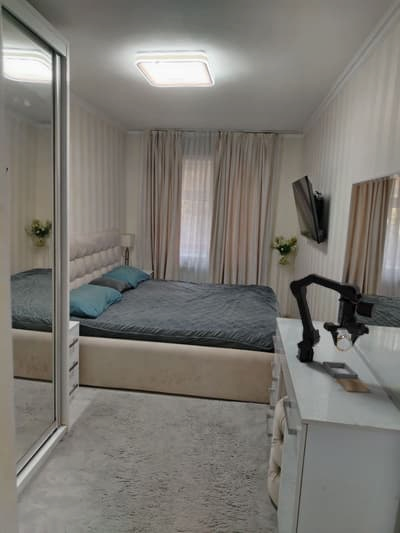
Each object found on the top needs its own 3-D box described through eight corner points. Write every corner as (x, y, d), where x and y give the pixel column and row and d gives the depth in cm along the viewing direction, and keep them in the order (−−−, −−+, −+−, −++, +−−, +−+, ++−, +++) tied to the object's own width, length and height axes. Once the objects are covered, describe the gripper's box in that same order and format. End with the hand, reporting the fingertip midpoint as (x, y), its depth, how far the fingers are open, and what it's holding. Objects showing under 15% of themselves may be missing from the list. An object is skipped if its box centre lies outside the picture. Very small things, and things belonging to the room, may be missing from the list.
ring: (334, 351, 164) (337, 334, 163) (334, 348, 167) (336, 332, 166) (351, 354, 162) (353, 337, 161) (350, 351, 165) (353, 334, 164)
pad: (346, 391, 148) (347, 390, 148) (336, 379, 158) (336, 378, 158) (370, 392, 149) (370, 391, 149) (358, 380, 159) (358, 379, 159)
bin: (333, 377, 160) (334, 373, 159) (322, 365, 172) (323, 361, 172) (357, 379, 160) (358, 374, 160) (344, 366, 173) (344, 362, 173)
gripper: (335, 316, 153) (330, 352, 156) (378, 319, 155) (372, 354, 157) (325, 309, 164) (320, 342, 167) (365, 311, 165) (359, 344, 168)
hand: (343, 346), depth 164 cm, fingers closed on ring, 7 cm apart
